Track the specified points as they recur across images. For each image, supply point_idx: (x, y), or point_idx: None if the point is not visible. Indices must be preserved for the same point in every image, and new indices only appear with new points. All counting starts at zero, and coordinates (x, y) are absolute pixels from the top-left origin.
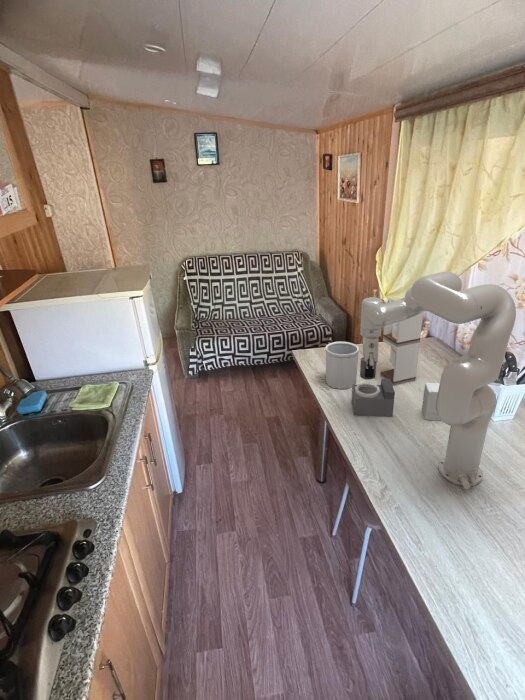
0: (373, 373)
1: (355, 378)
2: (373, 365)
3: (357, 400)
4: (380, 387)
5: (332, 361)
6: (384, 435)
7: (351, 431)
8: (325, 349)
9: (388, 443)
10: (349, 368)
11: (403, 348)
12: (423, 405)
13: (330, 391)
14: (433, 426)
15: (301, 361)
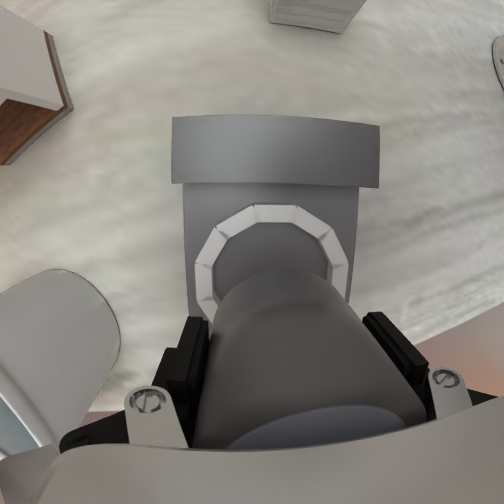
0: (397, 331)
1: (63, 286)
2: (466, 399)
3: None
4: (218, 188)
5: None
6: (434, 205)
7: (405, 311)
8: None
9: (464, 202)
10: (62, 356)
11: None
12: (299, 9)
13: (142, 369)
14: (377, 26)
15: None
